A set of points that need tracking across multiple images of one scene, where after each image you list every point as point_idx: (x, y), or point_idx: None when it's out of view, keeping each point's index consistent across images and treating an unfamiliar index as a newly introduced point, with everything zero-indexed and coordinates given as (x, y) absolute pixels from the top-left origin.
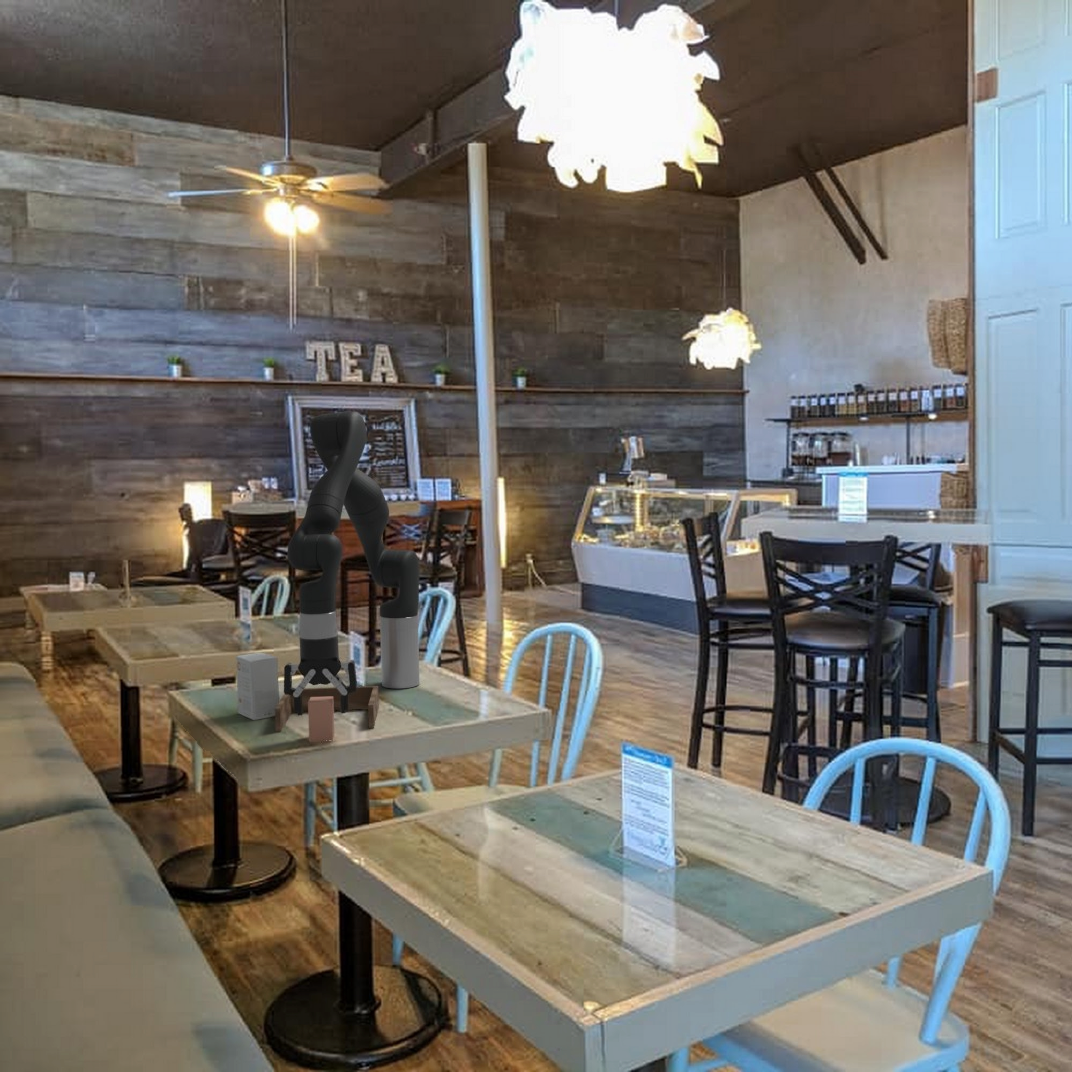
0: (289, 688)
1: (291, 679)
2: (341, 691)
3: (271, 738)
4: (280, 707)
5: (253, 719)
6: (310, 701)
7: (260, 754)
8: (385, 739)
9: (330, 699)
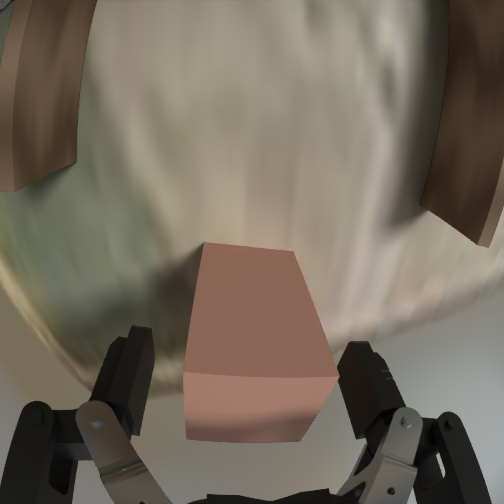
0: (73, 469)
1: (47, 489)
2: (366, 458)
3: (65, 242)
4: (14, 173)
5: (1, 8)
6: (196, 431)
7: (93, 369)
8: (414, 325)
9: (306, 421)
